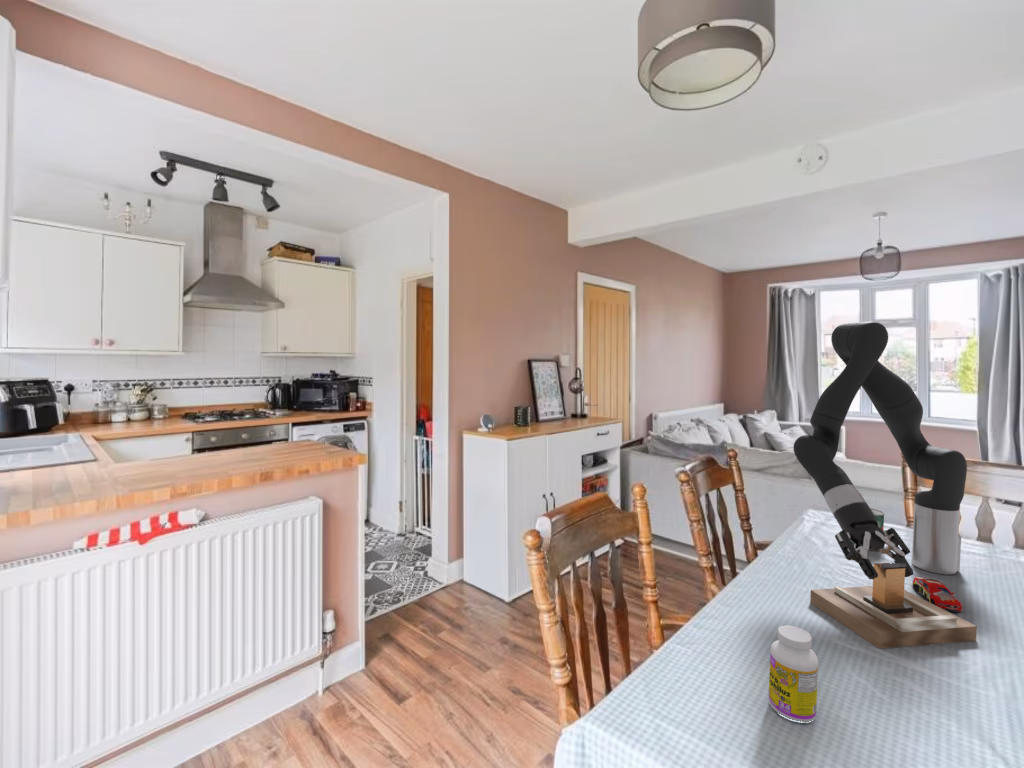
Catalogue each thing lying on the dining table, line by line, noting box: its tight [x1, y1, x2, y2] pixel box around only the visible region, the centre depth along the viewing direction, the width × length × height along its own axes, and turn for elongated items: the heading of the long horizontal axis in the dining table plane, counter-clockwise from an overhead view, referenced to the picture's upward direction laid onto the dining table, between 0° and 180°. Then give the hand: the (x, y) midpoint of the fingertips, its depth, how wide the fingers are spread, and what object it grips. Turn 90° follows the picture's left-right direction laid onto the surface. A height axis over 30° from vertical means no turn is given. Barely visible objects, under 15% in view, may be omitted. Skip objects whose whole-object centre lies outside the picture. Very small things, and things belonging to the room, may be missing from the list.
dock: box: [809, 585, 978, 649], centre depth 103 cm, size 22×18×5 cm
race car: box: [912, 576, 963, 613], centre depth 112 cm, size 13×5×4 cm, turn 161°
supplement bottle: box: [768, 624, 819, 722], centre depth 76 cm, size 7×7×13 cm
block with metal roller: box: [863, 562, 913, 614], centre depth 103 cm, size 6×6×10 cm
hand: (891, 576), depth 102 cm, fingers open, 8 cm apart
